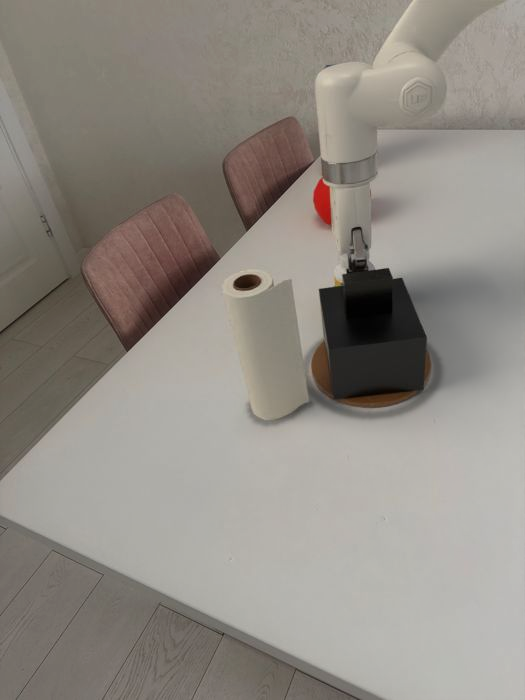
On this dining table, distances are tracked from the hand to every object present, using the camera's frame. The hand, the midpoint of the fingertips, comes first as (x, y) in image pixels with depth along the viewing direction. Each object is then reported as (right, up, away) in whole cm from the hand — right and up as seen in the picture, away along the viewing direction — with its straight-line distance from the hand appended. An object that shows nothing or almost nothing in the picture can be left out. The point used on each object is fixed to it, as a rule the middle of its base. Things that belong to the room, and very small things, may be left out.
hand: (354, 277), depth 79 cm
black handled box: (+1, -14, -7) cm, 15 cm away
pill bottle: (+1, -6, +5) cm, 7 cm away
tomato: (+3, +17, +32) cm, 37 cm away
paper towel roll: (-13, -20, -9) cm, 26 cm away
